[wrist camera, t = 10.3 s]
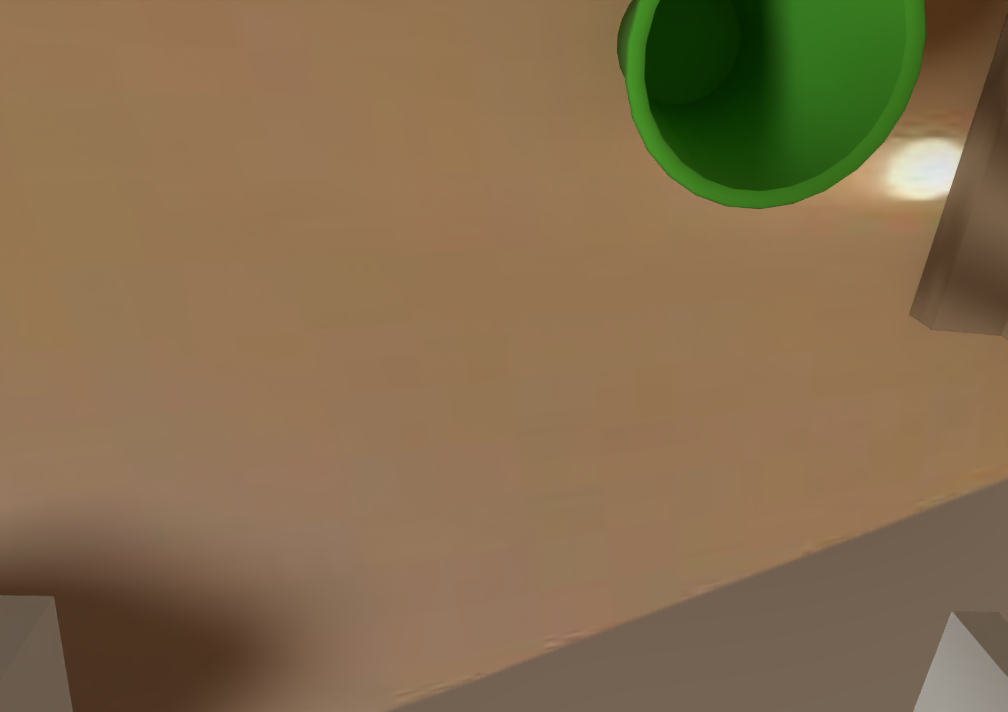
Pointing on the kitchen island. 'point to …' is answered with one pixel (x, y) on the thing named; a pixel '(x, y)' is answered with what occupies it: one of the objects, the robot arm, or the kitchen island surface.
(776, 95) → the cup
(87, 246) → the kitchen island surface
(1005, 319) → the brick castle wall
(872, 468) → the kitchen island surface
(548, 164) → the kitchen island surface
